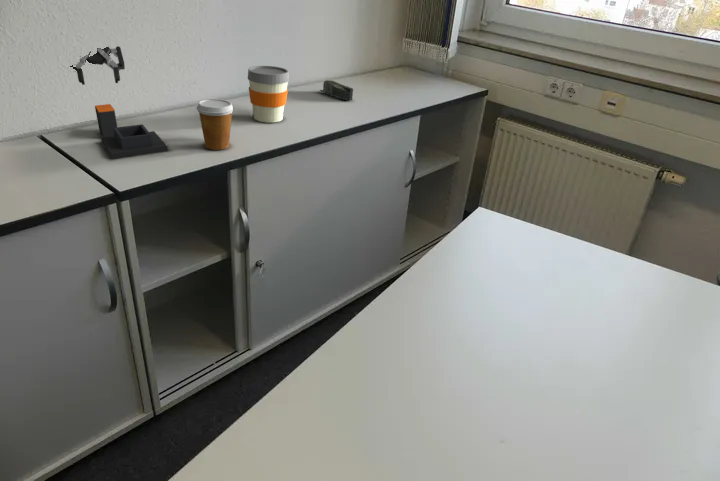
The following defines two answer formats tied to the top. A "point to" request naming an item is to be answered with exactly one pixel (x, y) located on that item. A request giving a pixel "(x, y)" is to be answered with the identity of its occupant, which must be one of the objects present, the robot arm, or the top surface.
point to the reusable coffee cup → (268, 92)
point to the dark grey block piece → (337, 90)
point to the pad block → (106, 120)
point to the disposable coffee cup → (215, 122)
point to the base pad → (132, 142)
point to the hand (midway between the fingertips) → (100, 82)
